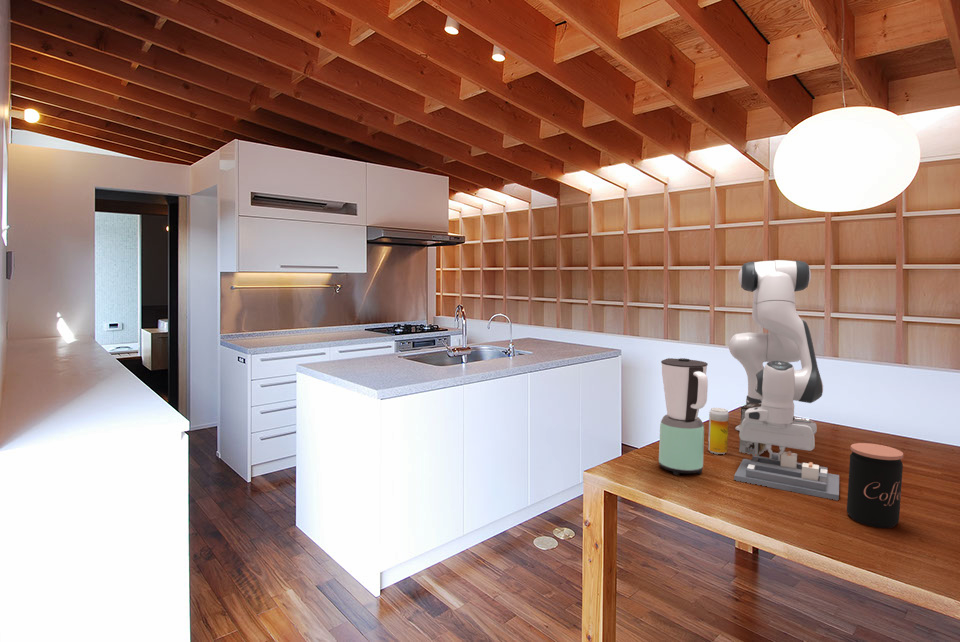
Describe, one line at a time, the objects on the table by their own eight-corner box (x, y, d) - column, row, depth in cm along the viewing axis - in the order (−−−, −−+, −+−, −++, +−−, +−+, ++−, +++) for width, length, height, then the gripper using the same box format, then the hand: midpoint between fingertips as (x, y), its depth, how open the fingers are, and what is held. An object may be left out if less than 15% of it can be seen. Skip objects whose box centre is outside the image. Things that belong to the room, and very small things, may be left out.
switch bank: (743, 463, 176) (743, 452, 176) (838, 480, 162) (839, 468, 161) (733, 480, 161) (734, 468, 161) (838, 500, 147) (839, 488, 146)
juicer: (647, 462, 177) (650, 356, 174) (683, 459, 180) (687, 354, 177) (681, 483, 158) (685, 365, 155) (721, 480, 161) (725, 363, 158)
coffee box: (747, 446, 193) (749, 402, 192) (767, 450, 189) (769, 405, 187) (738, 452, 187) (740, 406, 186) (758, 456, 182) (760, 409, 181)
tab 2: (801, 479, 157) (803, 460, 157) (818, 482, 155) (819, 463, 155) (801, 483, 154) (802, 464, 154) (817, 486, 152) (818, 467, 151)
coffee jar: (860, 528, 131) (865, 455, 129) (837, 509, 141) (841, 441, 140) (909, 530, 129) (914, 457, 128) (882, 511, 140) (886, 443, 138)
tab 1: (781, 467, 167) (782, 449, 167) (796, 469, 165) (797, 451, 164) (780, 471, 164) (781, 453, 163) (795, 473, 162) (796, 455, 161)
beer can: (729, 455, 183) (730, 412, 182) (710, 454, 184) (711, 411, 183) (724, 450, 189) (726, 408, 188) (706, 449, 190) (707, 407, 189)
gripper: (817, 417, 162) (815, 462, 163) (742, 408, 173) (740, 450, 174) (816, 422, 157) (814, 468, 158) (739, 412, 168) (737, 455, 169)
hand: (775, 459), depth 166 cm, fingers closed
